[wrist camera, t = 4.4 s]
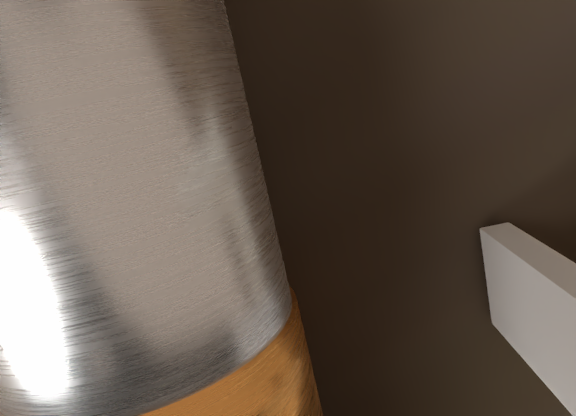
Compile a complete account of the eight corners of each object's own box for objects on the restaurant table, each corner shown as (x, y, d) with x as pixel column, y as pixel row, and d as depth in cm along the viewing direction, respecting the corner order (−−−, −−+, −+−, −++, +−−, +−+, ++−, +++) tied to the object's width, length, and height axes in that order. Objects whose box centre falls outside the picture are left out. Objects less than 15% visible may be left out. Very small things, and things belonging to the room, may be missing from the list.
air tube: (55, -187, 12) (-334, -276, 8) (225, -391, 8) (-403, -821, 4) (285, 638, 18) (137, 843, 14) (450, 768, 14) (312, 1117, 10)
